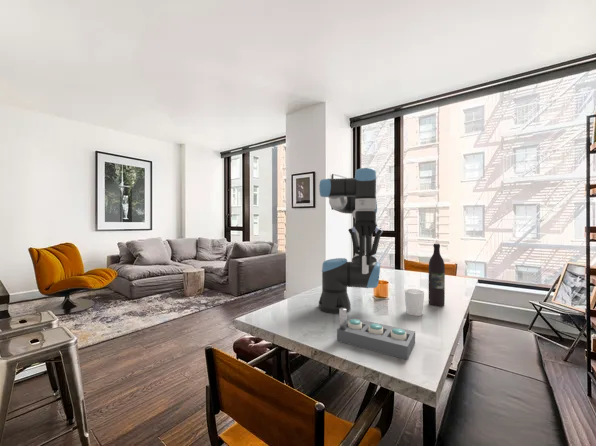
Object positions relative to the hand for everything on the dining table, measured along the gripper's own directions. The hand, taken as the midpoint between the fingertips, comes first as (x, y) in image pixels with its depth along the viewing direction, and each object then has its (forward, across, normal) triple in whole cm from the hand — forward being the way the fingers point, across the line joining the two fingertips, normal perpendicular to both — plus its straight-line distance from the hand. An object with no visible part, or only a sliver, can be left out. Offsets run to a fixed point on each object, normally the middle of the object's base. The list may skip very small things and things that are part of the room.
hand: (365, 273), depth 100 cm
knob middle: (+21, +6, -7) cm, 23 cm away
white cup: (+23, +11, +30) cm, 39 cm away
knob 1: (+21, -1, -7) cm, 22 cm away
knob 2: (+21, +14, -6) cm, 26 cm away
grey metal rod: (+18, -3, -12) cm, 22 cm away
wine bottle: (+23, +17, +50) cm, 57 cm away
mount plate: (+22, +6, -7) cm, 24 cm away
